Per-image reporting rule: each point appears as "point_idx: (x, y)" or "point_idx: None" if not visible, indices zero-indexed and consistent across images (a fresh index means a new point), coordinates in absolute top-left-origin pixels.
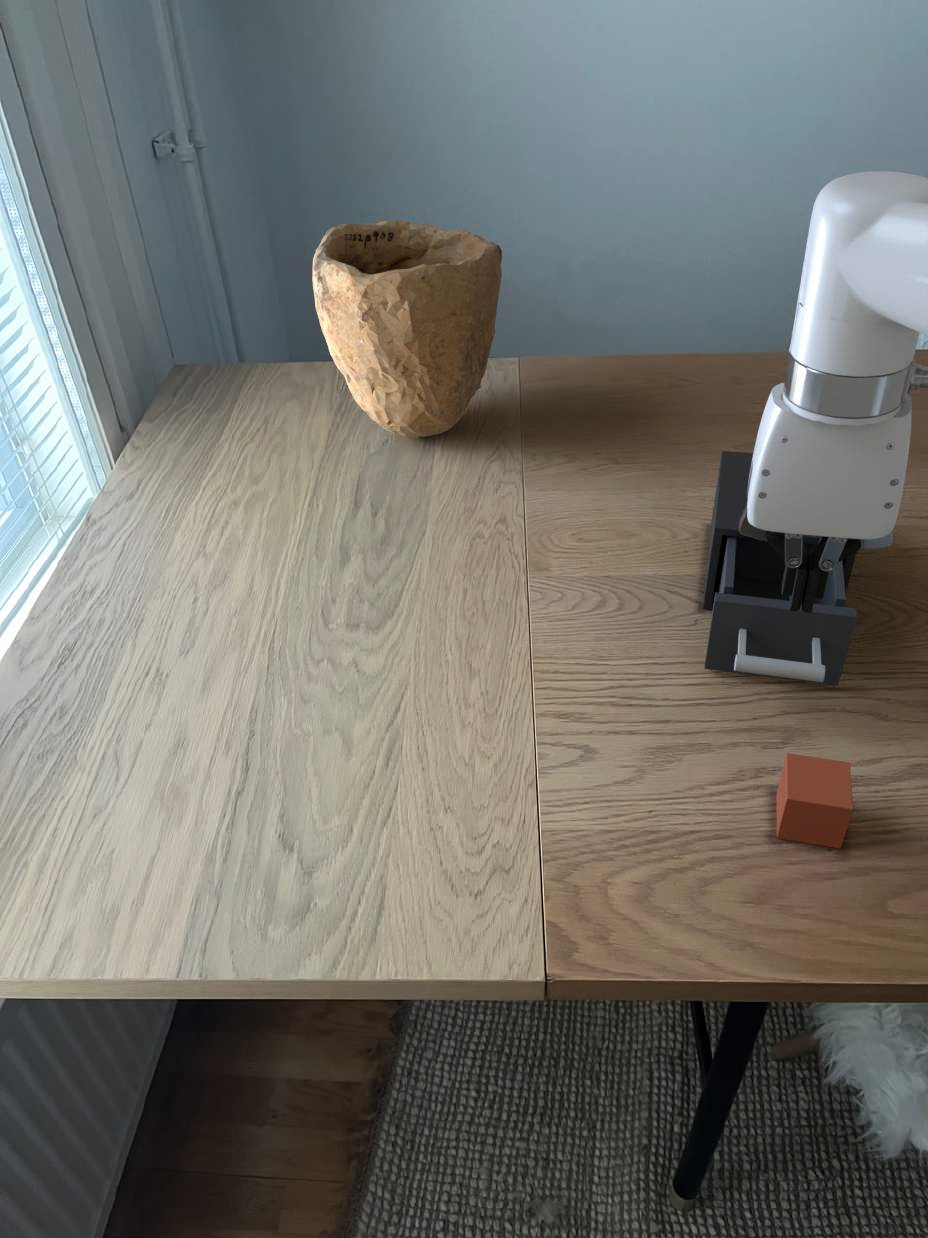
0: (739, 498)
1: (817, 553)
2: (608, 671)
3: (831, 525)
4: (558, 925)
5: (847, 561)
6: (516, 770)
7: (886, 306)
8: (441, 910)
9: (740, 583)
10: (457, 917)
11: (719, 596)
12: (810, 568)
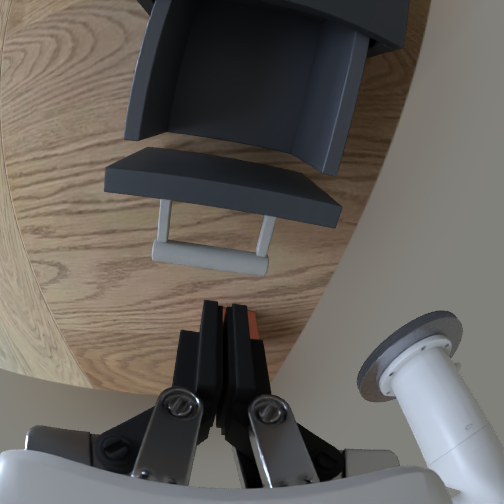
0: None
1: (235, 439)
2: (58, 165)
3: None
4: (90, 374)
5: (371, 49)
6: (28, 286)
7: None
8: (42, 361)
9: (215, 6)
10: (49, 365)
11: (111, 178)
12: (219, 424)
